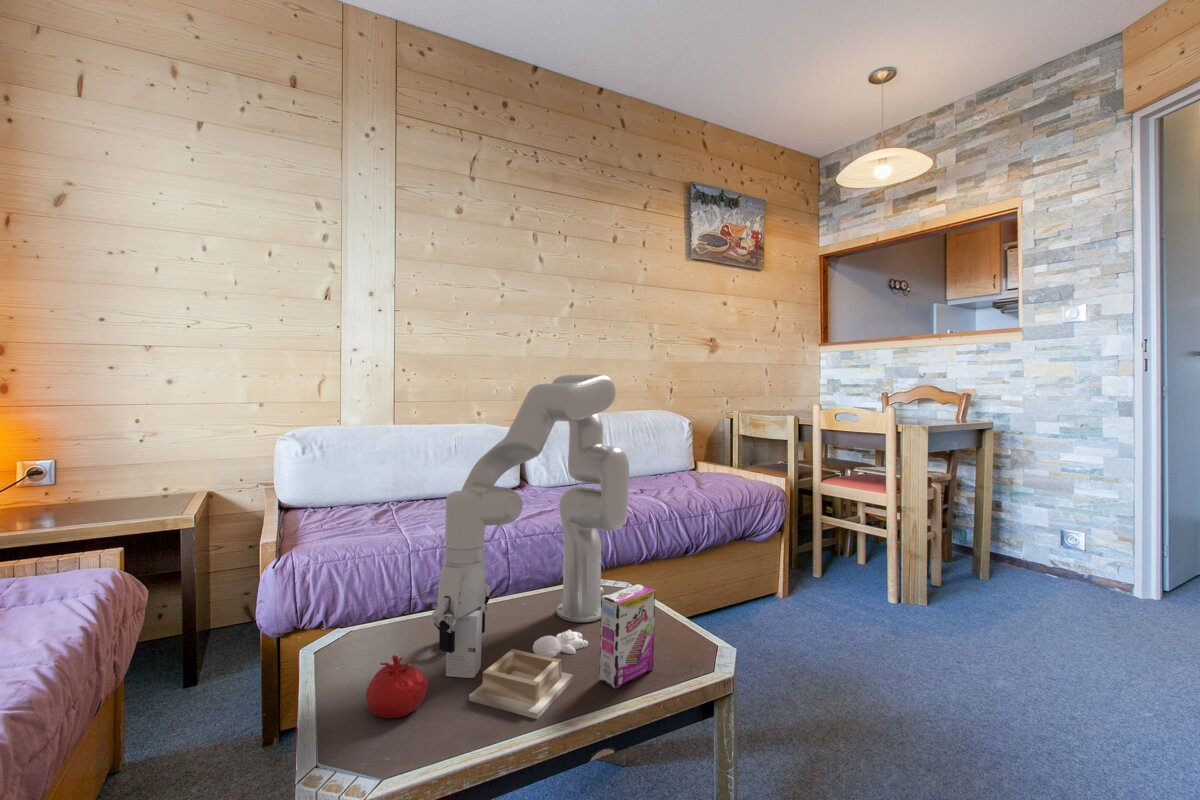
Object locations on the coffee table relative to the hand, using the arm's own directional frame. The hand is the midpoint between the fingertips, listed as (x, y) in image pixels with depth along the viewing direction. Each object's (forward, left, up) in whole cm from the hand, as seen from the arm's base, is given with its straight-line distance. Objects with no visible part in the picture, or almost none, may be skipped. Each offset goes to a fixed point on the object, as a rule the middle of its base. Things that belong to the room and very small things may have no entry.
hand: (462, 641), depth 108 cm
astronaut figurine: (-18, +13, -7) cm, 23 cm away
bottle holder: (+1, +14, -6) cm, 15 cm away
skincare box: (0, 0, -7) cm, 7 cm away
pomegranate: (+15, -3, -7) cm, 16 cm away
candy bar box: (-12, +30, -7) cm, 33 cm away
